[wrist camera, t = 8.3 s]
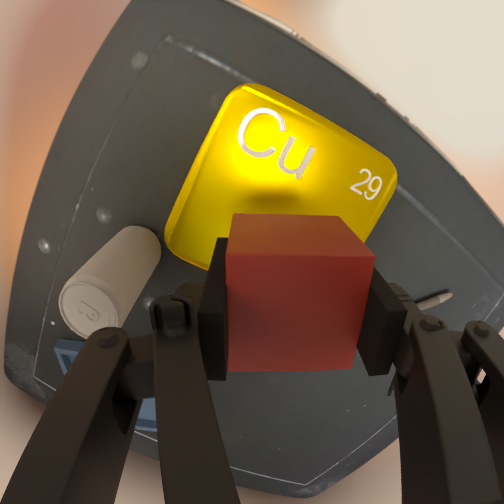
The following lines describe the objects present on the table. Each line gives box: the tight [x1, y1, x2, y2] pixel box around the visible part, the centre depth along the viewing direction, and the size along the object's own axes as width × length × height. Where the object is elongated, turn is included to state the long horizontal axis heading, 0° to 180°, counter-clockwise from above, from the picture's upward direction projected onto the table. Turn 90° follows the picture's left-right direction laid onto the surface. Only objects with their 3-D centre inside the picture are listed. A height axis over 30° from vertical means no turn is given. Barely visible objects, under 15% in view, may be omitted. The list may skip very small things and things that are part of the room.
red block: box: [226, 213, 375, 372], centre depth 14 cm, size 5×5×5 cm
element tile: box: [164, 83, 398, 271], centre depth 26 cm, size 15×15×5 cm
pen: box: [416, 293, 453, 311], centre depth 32 cm, size 1×14×1 cm, turn 107°
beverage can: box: [59, 226, 161, 339], centre depth 24 cm, size 5×5×12 cm
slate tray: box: [54, 338, 157, 432], centre depth 36 cm, size 16×14×2 cm
